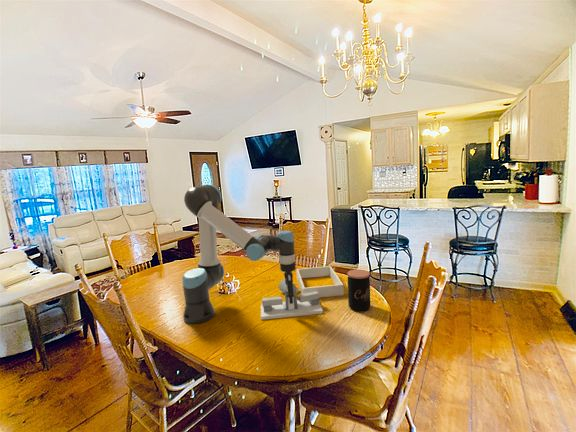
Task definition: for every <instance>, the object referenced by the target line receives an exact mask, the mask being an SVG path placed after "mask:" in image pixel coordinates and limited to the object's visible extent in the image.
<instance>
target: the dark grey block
mask: <svg viewBox="0 0 576 432" xmlns="http://www.w3.org/2000/svg"><path fill="white" fill-rule="evenodd" d="M293 293H294V309H297V300H298V299H297V298H298V297H297V296H298V295H297V292H296V291H293ZM287 296H288V292H285V293H284V300H285V301H284V302H285V305H286V310H289V306H288V297H287Z"/></svg>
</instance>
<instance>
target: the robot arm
mask: <svg viewBox="0 0 576 432" xmlns="http://www.w3.org/2000/svg"><path fill="white" fill-rule="evenodd" d="M222 195H223V194H222V193H221V190H220V189H219V188H217V186H216V185H212V184H203V185H200V186H199V185H198V186H192V187H191V188H189V189H188V190H186V192H185V195H184V197H183V199H184V204H185V207H186V208H187V210H188V211H190V213H192V215H193V216H195V217H197V218H198V232H199V233H198V234H199V250H200V253H199V254H200V260H198V262H197V267H196V268H192V269H190V270H187V271H186V272H184V273H183V275H182V283H181V284H182V289H183V295H184V303H185V305H184V310H183V316H182V317H183V321H184V322H185V323H186V324H191V325H196V324H201V323H204V322H205V323H206V322H207V321H210V320H211V319H212V318H214V316H215V313H216V312H215V308H214V305H213V304H212V302H211V300H210V290H211V289H212V288H214V287H216V285H218V284H219V283H220V282H221V281H222V280H223V278H224V276H225V268H224V266H223V265H222V263H221V260H220V259H219V258H218V245H217V244H218V241H217V230H218V232H220V233H221V234H222V235H224V236H225V237H226V238H228V239H229V240H230V241H232V243H234V244H235V245H237V246H238V247H240V248H241V249H242V250H243V251H245V255H246V258H247V259H249V260H250V261H253V262H256V261H259V260H260V259H262V258H264V256H265V255H266V254H267V253H269V252H270V251H273V252H275V251H276V252H277V251H278V254H279V257H278V258H279V269H280V271H281V272H282V273H283V275H284V279H285V282H286V283H285V284H286V292H288V296H287V297H288V306H289V309H294V293H293V283H294V280H293V279H294V278H293V277H294V275H293V272H294V271H296V270H297V268H296V257H297V255H296V254H295V239H294V233H293V231H292V230H281V231H278V232H277V234H275V235H271V234H269V235H268V234H267V235H266V234H262V235H256V236H255V237H254V236H253V235H252V234H250V233H249V232H248V231H247V230H245V229H244V228H243V227H241V226H240V225H239V224H237V223H236V222H235V221H234V220H232V219H231V218H230V217H228V216H227V215H226V214H224V212H222V211H221V210H219V205H220V204H221V202H222V199H223V198H222V197H223V196H222Z"/></svg>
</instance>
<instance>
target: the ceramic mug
mask: <svg viewBox="0 0 576 432" xmlns="http://www.w3.org/2000/svg"><path fill="white" fill-rule="evenodd" d="M285 283H286V282H285V278H283V279H281V281H280V282H279V284H278V289H279V291H281V292H282V293H284V294H285V292H286V284H285ZM293 291H296V293H299V292H300V287H297V286H296V284H295V283H294V282H293Z"/></svg>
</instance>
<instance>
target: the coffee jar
mask: <svg viewBox="0 0 576 432" xmlns="http://www.w3.org/2000/svg"><path fill="white" fill-rule="evenodd" d="M346 274H347V297H348V298H347V301H348V303H347V304H348V307H349V309H350V310H351V311H354V312H358V313H364V312H367V311H369V310H370V308H371V279H370V275H371V274H370V272H369V271H368V270H365V269H361V268H360V269H351V270H348V271H347V273H346Z"/></svg>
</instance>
